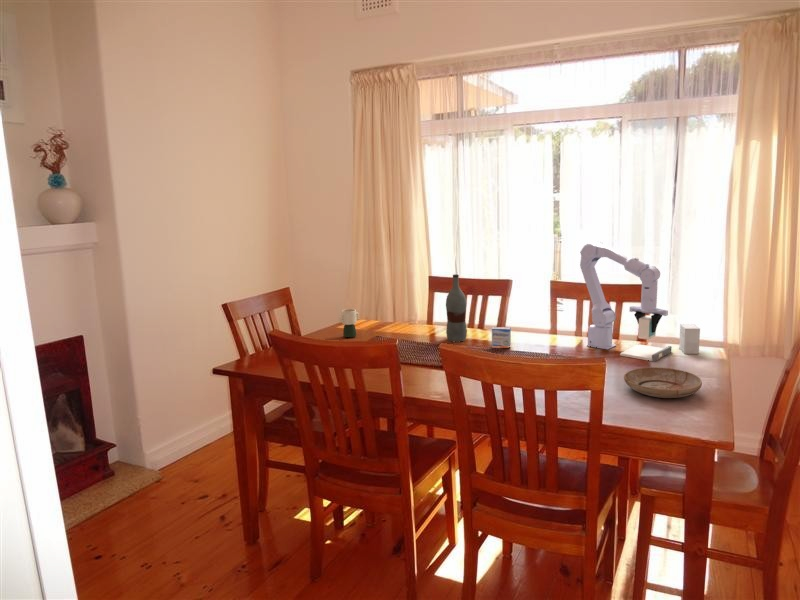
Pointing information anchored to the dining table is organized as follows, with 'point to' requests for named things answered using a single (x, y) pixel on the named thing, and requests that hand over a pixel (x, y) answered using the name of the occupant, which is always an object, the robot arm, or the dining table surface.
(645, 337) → the carton
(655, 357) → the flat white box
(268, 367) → the dining table surface
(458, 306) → the bottle
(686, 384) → the ceramic bowl
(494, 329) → the medicine box
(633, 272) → the robot arm
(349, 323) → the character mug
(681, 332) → the small box
